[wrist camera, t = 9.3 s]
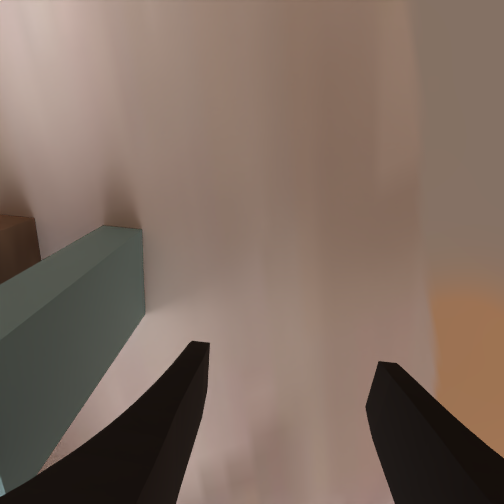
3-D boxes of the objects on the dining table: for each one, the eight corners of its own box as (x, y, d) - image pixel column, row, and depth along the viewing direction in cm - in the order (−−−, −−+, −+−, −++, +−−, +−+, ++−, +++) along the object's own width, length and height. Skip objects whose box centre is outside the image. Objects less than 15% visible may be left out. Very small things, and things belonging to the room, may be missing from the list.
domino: (145, 314, 18) (11, 513, 9) (110, 310, 18) (-62, 504, 9) (141, 229, 16) (-32, 364, 7) (102, 225, 16) (-123, 355, 7)
